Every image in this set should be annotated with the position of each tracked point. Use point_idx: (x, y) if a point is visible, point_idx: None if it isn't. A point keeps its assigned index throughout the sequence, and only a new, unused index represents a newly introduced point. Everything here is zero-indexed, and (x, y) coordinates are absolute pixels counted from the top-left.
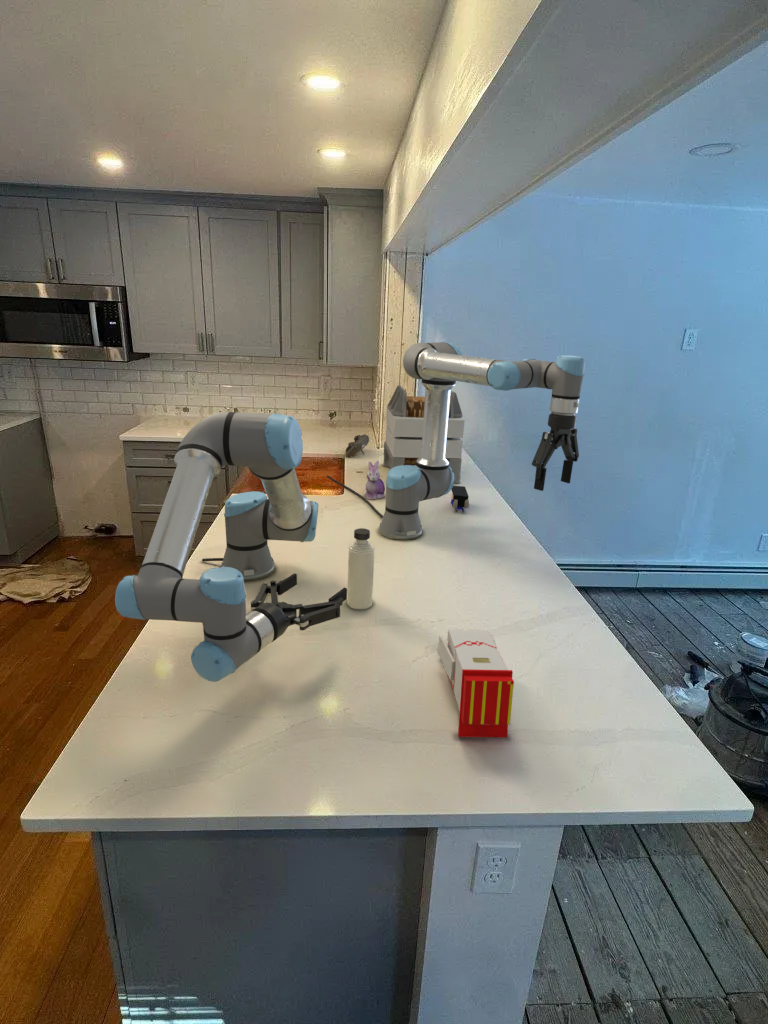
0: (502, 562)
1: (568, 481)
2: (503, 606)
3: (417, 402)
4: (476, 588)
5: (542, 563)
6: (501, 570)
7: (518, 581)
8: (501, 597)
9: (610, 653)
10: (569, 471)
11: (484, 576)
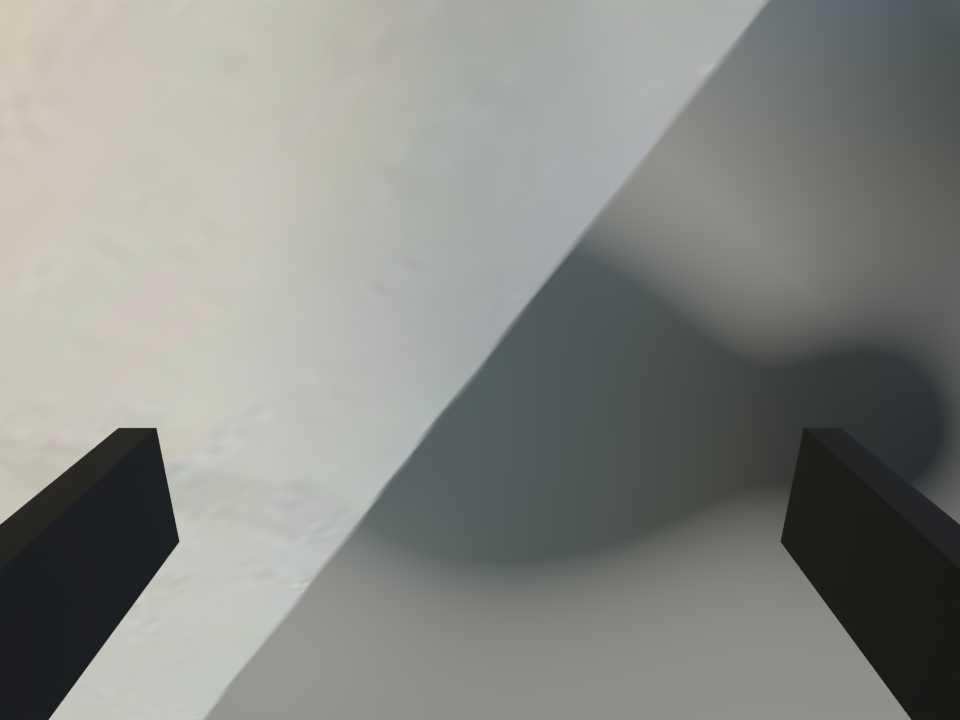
0: (418, 46)
1: (795, 552)
2: (89, 349)
3: None
4: (82, 172)
5: (587, 193)
6: (335, 113)
7: (315, 246)
8: (133, 297)
9: (198, 683)
10: (890, 666)
11: (204, 106)
